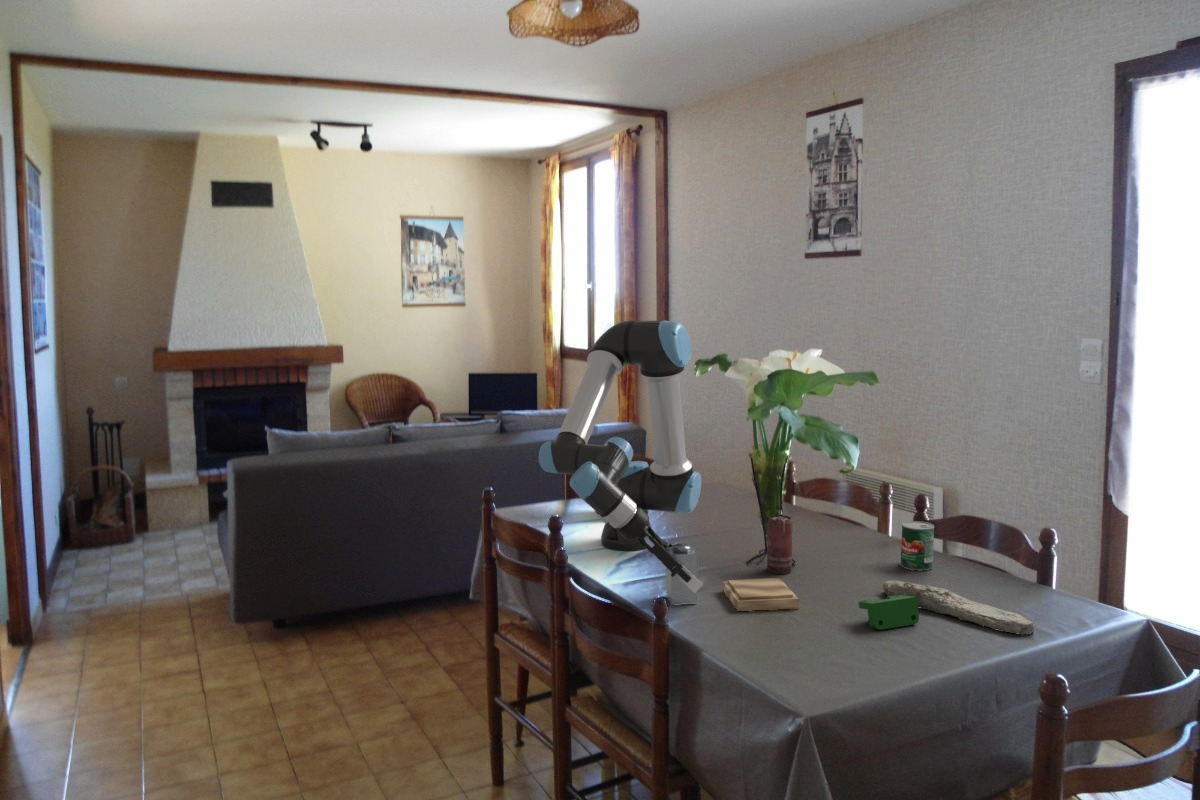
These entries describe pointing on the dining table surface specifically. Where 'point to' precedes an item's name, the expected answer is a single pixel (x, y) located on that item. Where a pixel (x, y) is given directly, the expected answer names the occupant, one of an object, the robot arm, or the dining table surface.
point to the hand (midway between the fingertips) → (693, 580)
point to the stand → (760, 594)
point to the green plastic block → (891, 611)
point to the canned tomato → (917, 545)
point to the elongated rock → (960, 607)
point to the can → (779, 544)
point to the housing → (674, 586)
